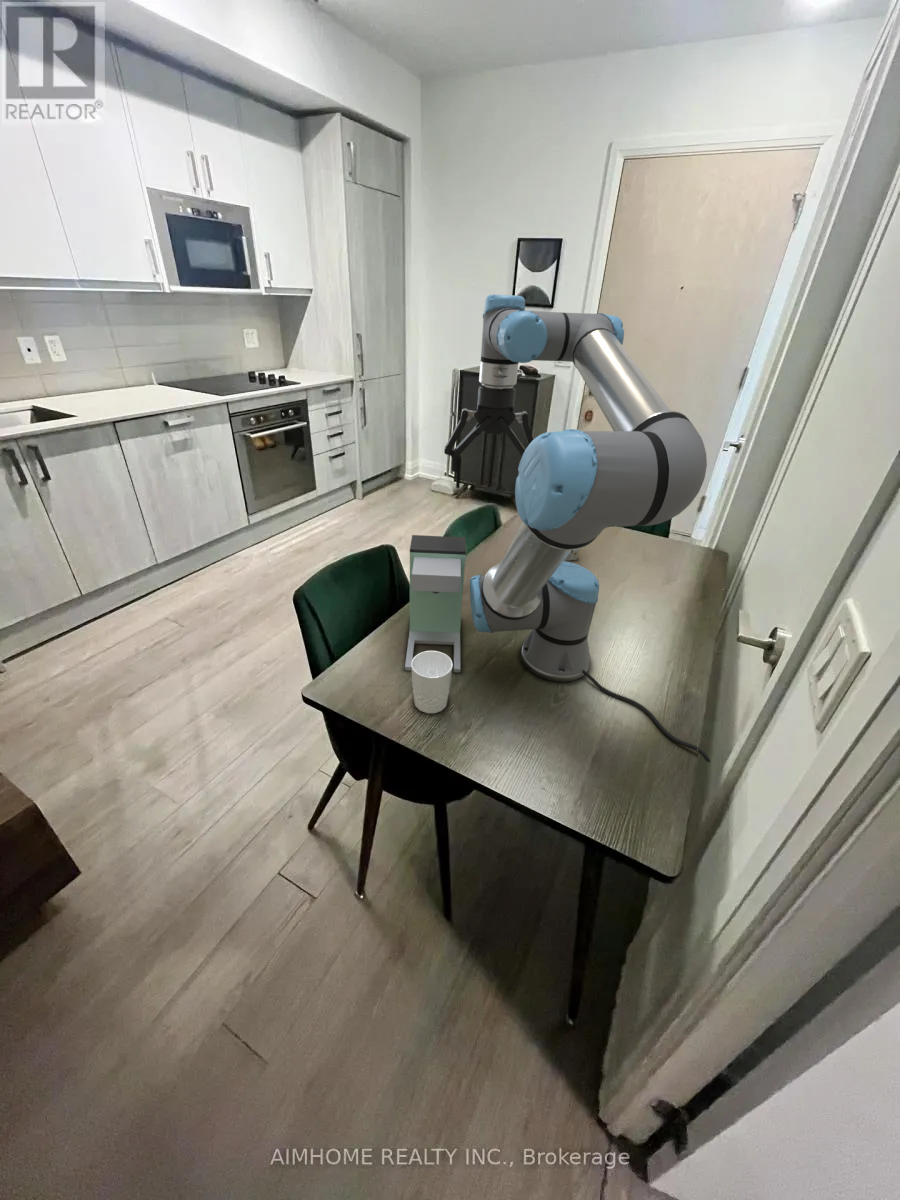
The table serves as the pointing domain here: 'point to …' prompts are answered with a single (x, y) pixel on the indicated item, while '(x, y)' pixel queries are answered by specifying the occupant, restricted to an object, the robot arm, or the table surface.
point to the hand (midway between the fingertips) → (488, 487)
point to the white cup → (431, 680)
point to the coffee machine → (436, 593)
